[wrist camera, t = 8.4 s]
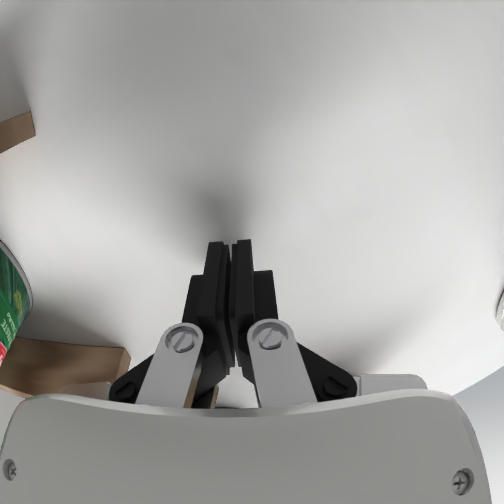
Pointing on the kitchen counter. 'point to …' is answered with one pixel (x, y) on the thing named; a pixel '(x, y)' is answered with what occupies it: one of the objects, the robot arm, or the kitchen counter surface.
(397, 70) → the kitchen counter surface
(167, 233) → the kitchen counter surface
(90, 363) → the box
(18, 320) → the canned tomato
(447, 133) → the kitchen counter surface
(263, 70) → the kitchen counter surface
